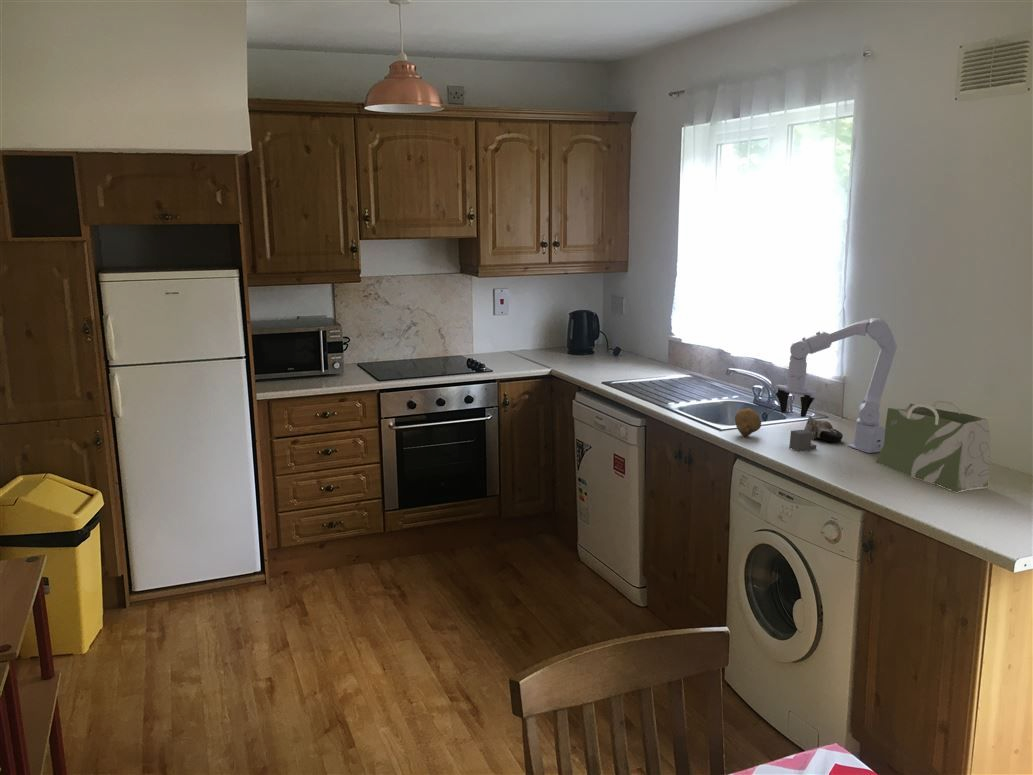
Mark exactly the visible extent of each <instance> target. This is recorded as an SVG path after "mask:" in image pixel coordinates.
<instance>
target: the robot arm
mask: <svg viewBox="0 0 1033 775" xmlns="http://www.w3.org/2000/svg"><path fill="white" fill-rule="evenodd" d="M866 334H867V335H868V336H869V337H870V338H871V339H872V340H874V341H875V342H876V344H877V345H878V347H879V348H880V349H879V353H878V355H877V359H876V362H875V365H874V368H873V372H872V375H871V379H870V382H869V384H868V388H867V391H866V394H865V396H864V398H863V401H862V402H861V403H860V404H859V405H858V407H857V411H858V418H857V419H856V420H855V429H854V439H853V443H851V444H850V443H849V444H847V447H848V448H849V447H850V448H852V449H855V450H858V451H861V452H864V453H867V454H871V453H873V454H874V453H880V452H881V450H882V447H883V445H884V439H885V428H884V427H882V426H881V425H880V421H879V419H880V417H881V416H880V415H881V413H880V406H881V401H882V397H883V396H882V395H883V393H884V390H885V387H886V383H887V381H888V377H889V374H890V370H891V367H892V364H893V361H894V357H895V354H896V350H897V343H896V340H895V338H894V337H895V336H894V334H893V332H892V329H891V328H890V326H889V325H888V323H886V321H885V320H884V319H882V318H881V317H877V316H874V317H872V318H869V319H867V318H866V319H863V320H861V321H856V322H854V323H852V324H848V325H846V326H844V327H842V328H839V329H837V330H834V331H832V332H830V333H828V332H825V331H821V332H820V330H819V331H815V334H814V335H813V334H812V335H810V336H808V337H805V336H803V337H801V339H799V340H795V341H793V343H791V346H790V348H789V349H790V357H789V363H788V375H787V384H786V385H783V384H776V385H775V387H774V388H775V389H774V391H776V393H775V395H776V397H777V400H778V403H779V406H780V412H781V414H784V413H786V412H787V409H788V400H789V397H790V394H794V395H799V396H801V397H800V417H801V418H805V417H806V416H807V414H808V411H809V409H810V406H811V405H812V403H813V402H814V400H815V398H817V390H816V391H815V390H812V389H808V388H806V387H805V386H806V377H807V365H808V363H807V358H808V357H807V356H808V355H813V354H815V353H818V352H820V351H824V350H827V349H829V348H831V346H832V343H834V342H837V341H840V340H844V339H847V338H850V337H852V336H861V337H866V336H867V335H866Z"/></svg>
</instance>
